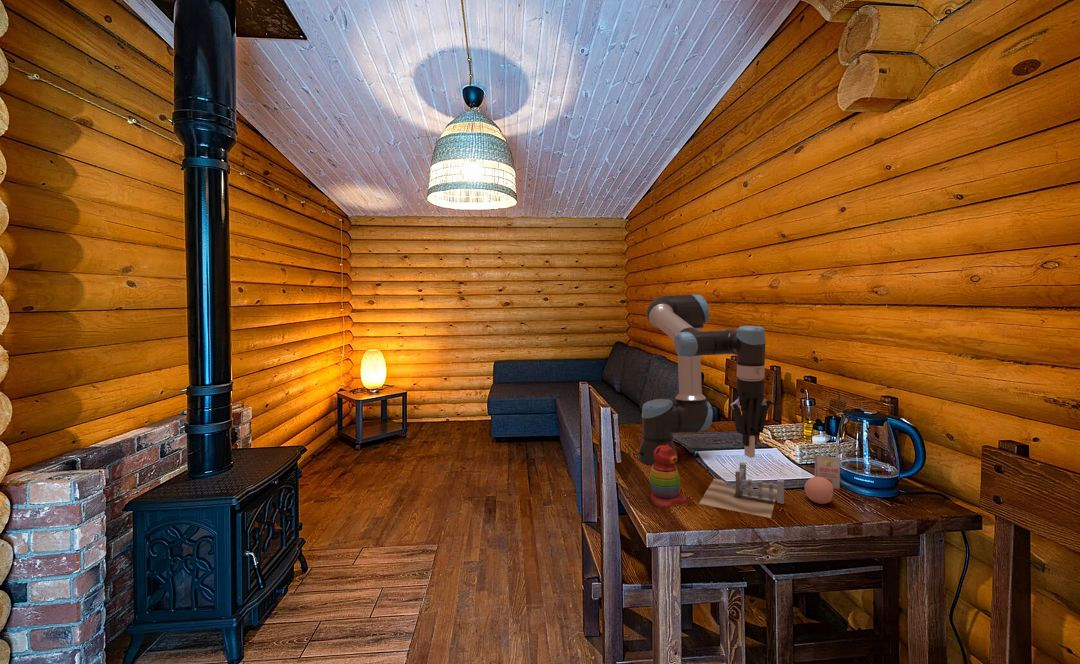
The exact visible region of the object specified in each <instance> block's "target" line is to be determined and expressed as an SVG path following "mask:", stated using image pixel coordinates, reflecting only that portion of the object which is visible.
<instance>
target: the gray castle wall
mask: <svg viewBox="0 0 1080 664" xmlns="http://www.w3.org/2000/svg"><path fill="white" fill-rule="evenodd" d="M776 483H777V484H776ZM776 483H774V482H773V481H772V482H771V481H769V482H763V481H762V480H758V481H756V480H752V479H751V478H748V479H746V480H743V485H748V490H744V489H743V495H748V498H751V497H752V496H755V497H758V500H762V498H768V499H769V501H771V502H773V499H774V500H775V501H776V502H777V504H781V505H784V504H785V479H779V478H777V482H776ZM752 486H755V487H758V492H757V491H752ZM762 488H769V493H764V492H762ZM773 489H775V490H777V494H773Z"/></svg>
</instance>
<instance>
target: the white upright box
mask: <svg viewBox="0 0 1080 664" xmlns="http://www.w3.org/2000/svg"><path fill="white" fill-rule="evenodd" d="M814 457H815V458H814V477H823V478H825V479H827V480H828V481H830V482H831V483H832V485H833V488H834V490H838V491H839V490H840V487H841V485H840V484H841V483H840V481H841V480H840V479H841V471H840V470H841V468H840V457H833V456H826V455H825V456H824V455H814Z"/></svg>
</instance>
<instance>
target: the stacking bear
mask: <svg viewBox="0 0 1080 664" xmlns="http://www.w3.org/2000/svg"><path fill="white" fill-rule="evenodd" d="M677 454H678V453H677ZM677 454H676V453H675V451H674V450H673V448H671V445H670V444H667V445H661V446H658V447H657V448H656V449H655V450H654V459H655V461H656V462H655V463H654V464H653V465H651V468H650V473H649V485H650V489H651V490H650V491H651V495H650V501H651V503H652V504H653V505H654V506H656V507H659V508H664V509H668V508H671V507H672V506H673V505H675V504H685V503H687V502H688V498H687V497H686V496H685V495H684V494H682V493H680V487H681V478H680V474H679V470H678V466H677V462H676V460H677ZM675 462H676V463H675Z"/></svg>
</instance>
